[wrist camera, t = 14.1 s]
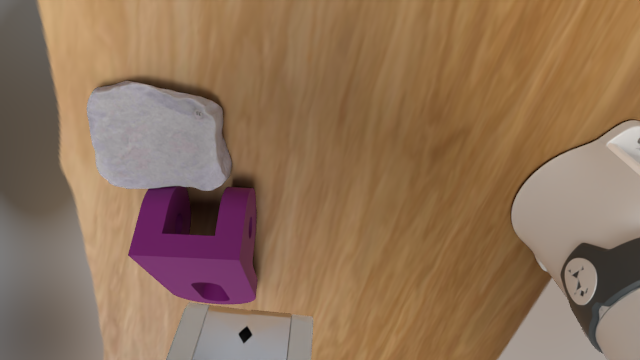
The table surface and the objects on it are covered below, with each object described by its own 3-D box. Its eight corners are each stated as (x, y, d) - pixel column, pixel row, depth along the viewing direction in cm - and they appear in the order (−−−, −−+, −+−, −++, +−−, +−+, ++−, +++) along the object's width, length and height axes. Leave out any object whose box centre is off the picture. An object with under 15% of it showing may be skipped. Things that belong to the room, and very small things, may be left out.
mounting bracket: (265, 240, 56) (251, 173, 40) (259, 305, 52) (239, 260, 36) (194, 237, 56) (150, 168, 40) (181, 302, 52) (127, 254, 36)
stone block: (97, 73, 38) (116, 173, 43) (70, 83, 34) (94, 194, 38) (228, 76, 39) (234, 175, 43) (218, 87, 34) (226, 196, 39)
